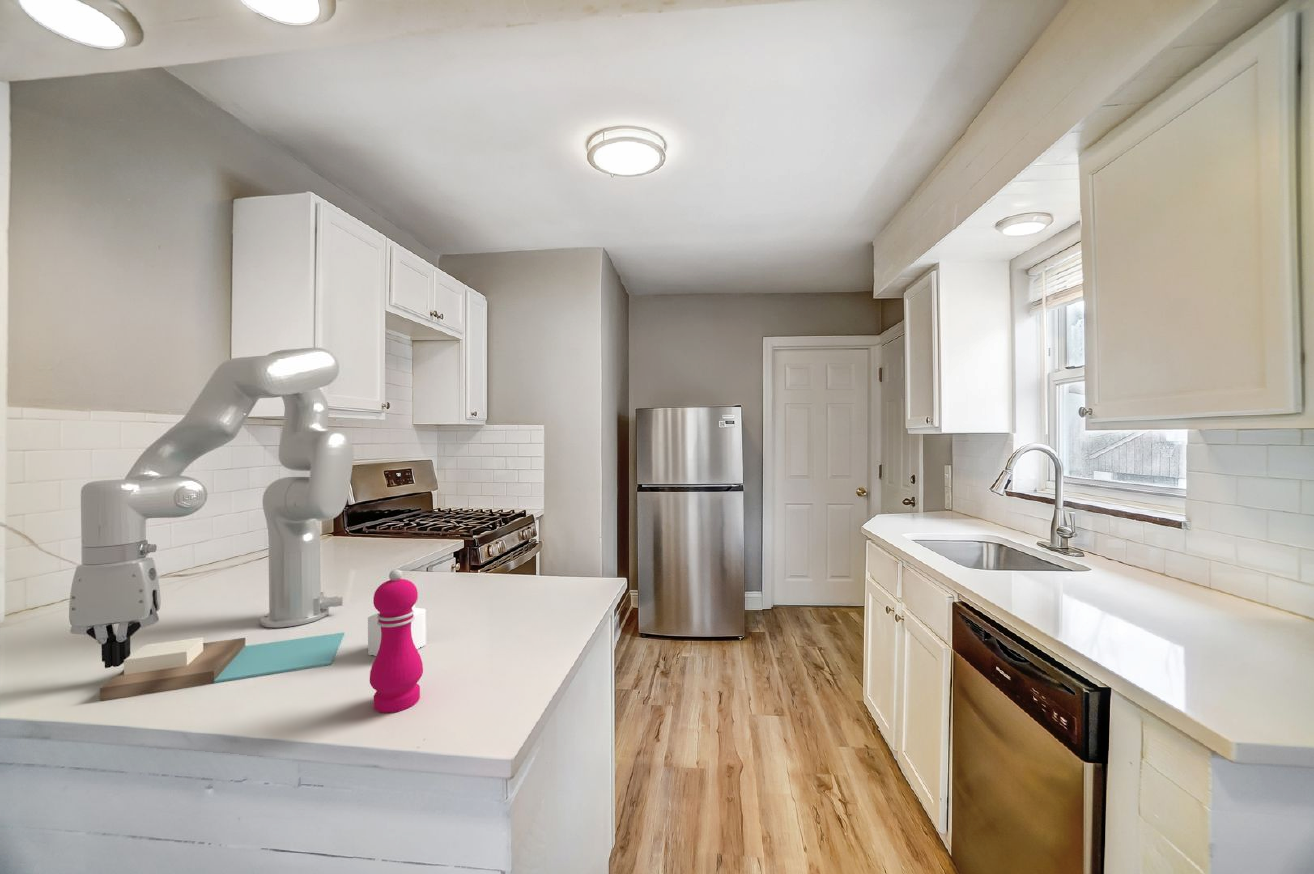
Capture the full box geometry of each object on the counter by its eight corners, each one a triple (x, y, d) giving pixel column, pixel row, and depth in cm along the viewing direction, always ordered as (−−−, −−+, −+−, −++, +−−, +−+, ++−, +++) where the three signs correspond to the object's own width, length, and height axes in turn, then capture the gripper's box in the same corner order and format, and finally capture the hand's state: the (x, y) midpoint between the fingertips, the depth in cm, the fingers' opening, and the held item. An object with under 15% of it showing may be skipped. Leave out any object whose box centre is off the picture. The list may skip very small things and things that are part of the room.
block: (203, 650, 95) (203, 637, 95) (186, 665, 89) (186, 651, 89) (145, 658, 92) (145, 644, 92) (124, 674, 86) (124, 659, 86)
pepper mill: (382, 692, 83) (381, 564, 83) (430, 689, 83) (428, 562, 83) (360, 716, 75) (358, 576, 75) (413, 713, 76) (411, 574, 76)
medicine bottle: (427, 645, 101) (426, 583, 101) (397, 660, 95) (396, 593, 95) (398, 641, 104) (397, 580, 104) (367, 655, 97) (366, 590, 97)
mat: (344, 634, 108) (344, 632, 108) (331, 664, 93) (331, 662, 93) (242, 648, 101) (242, 646, 101) (210, 683, 86) (210, 681, 86)
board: (245, 647, 101) (245, 637, 101) (214, 682, 87) (214, 670, 87) (150, 661, 96) (150, 650, 96) (100, 700, 81) (100, 687, 81)
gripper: (181, 545, 94) (183, 648, 94) (68, 554, 88) (69, 663, 88) (161, 554, 87) (163, 664, 87) (37, 563, 82) (39, 682, 81)
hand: (116, 663), depth 88 cm, fingers closed
